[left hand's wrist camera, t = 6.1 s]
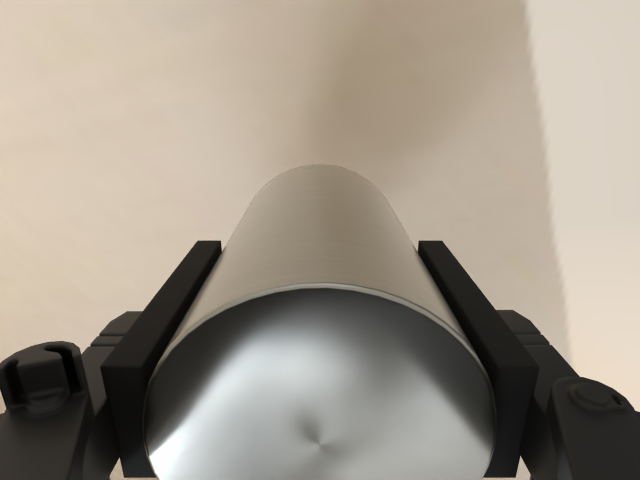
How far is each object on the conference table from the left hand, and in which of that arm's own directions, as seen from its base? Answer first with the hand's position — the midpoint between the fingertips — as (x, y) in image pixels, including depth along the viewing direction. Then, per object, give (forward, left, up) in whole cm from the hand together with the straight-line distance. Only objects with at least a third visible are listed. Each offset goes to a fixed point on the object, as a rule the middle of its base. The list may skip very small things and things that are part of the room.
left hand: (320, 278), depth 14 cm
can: (0, 0, -3) cm, 3 cm away
